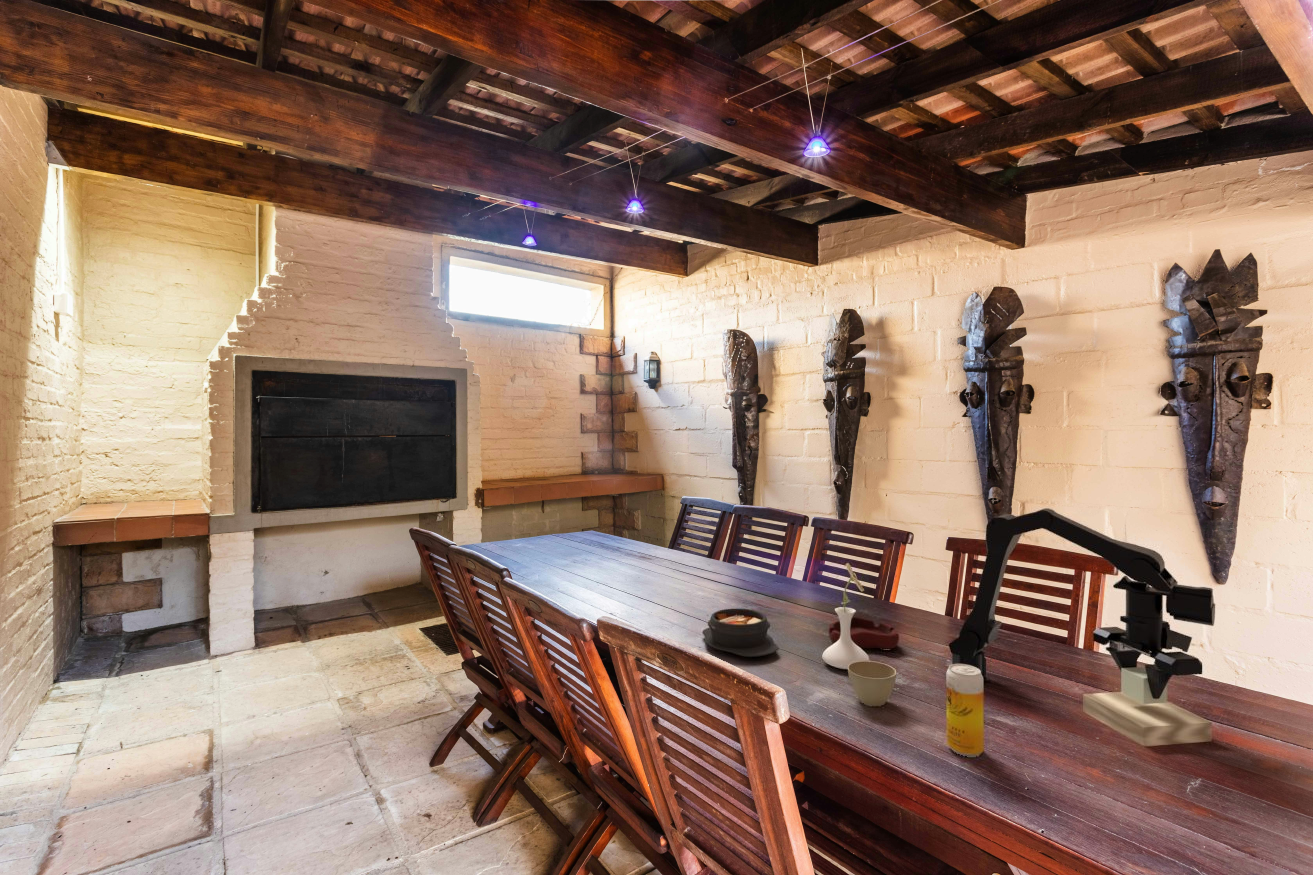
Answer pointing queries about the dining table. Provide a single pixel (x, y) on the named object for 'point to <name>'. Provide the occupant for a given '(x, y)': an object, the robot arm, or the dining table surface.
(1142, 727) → the birch base
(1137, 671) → the sage block
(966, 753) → the beer can
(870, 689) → the flower pot
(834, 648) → the flower in vase
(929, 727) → the dining table surface
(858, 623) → the ashtray
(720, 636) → the casserole
